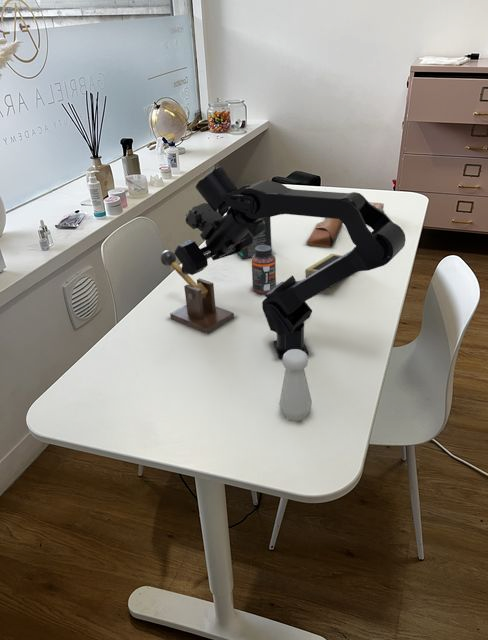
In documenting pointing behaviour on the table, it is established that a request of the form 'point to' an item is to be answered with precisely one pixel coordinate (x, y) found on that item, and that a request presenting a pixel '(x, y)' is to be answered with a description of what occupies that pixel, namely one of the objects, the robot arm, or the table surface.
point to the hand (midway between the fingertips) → (198, 265)
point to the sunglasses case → (325, 233)
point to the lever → (170, 260)
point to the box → (321, 264)
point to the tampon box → (258, 240)
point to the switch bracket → (201, 309)
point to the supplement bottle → (263, 269)
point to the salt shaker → (295, 386)
